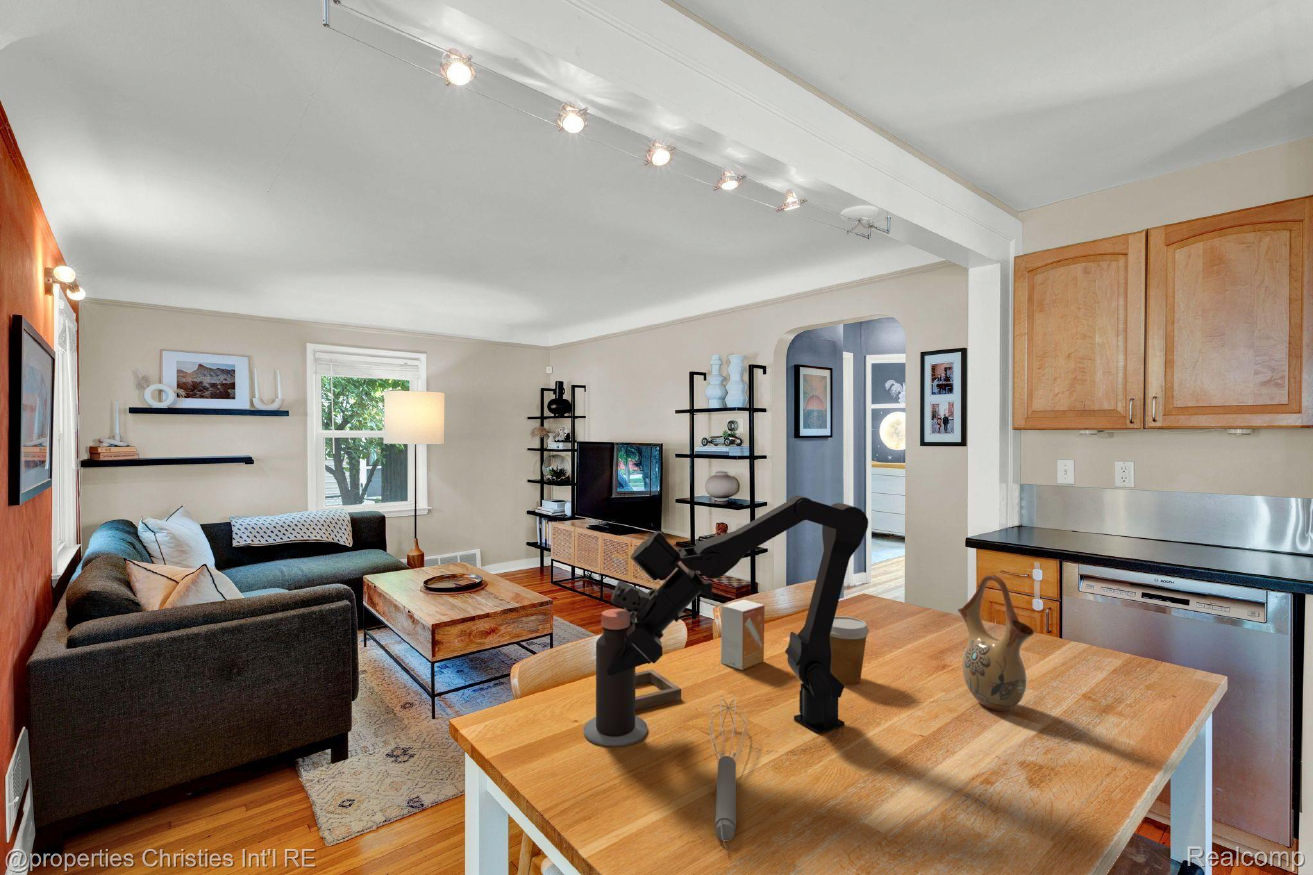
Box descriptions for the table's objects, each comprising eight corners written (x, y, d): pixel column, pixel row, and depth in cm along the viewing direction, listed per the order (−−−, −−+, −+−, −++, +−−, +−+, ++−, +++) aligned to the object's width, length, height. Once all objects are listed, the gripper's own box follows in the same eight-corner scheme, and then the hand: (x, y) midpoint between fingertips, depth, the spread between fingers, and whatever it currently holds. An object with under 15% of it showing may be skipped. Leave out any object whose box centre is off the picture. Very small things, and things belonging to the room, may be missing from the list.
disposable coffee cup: (862, 671, 135) (863, 616, 135) (873, 689, 126) (874, 630, 126) (817, 669, 136) (818, 614, 136) (825, 687, 127) (825, 628, 126)
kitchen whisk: (700, 852, 77) (700, 801, 77) (710, 726, 110) (711, 691, 110) (750, 857, 76) (750, 805, 76) (745, 728, 110) (745, 693, 110)
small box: (742, 671, 135) (742, 611, 135) (720, 663, 140) (720, 605, 139) (764, 661, 141) (765, 604, 140) (742, 654, 145) (743, 598, 145)
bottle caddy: (681, 699, 121) (681, 688, 121) (628, 712, 115) (628, 701, 115) (652, 678, 131) (652, 669, 131) (603, 689, 125) (603, 679, 125)
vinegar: (628, 739, 103) (629, 619, 103) (590, 734, 105) (590, 616, 105) (639, 721, 110) (639, 608, 110) (603, 716, 112) (603, 605, 111)
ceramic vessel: (1049, 721, 112) (1051, 583, 112) (1010, 728, 109) (1011, 586, 109) (978, 686, 127) (979, 564, 127) (941, 691, 125) (943, 567, 125)
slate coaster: (658, 736, 106) (658, 733, 106) (599, 753, 100) (599, 749, 100) (629, 711, 115) (629, 708, 115) (573, 724, 110) (573, 721, 110)
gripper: (636, 555, 117) (577, 615, 116) (642, 579, 99) (571, 650, 98) (677, 596, 118) (619, 656, 117) (691, 627, 99) (621, 698, 98)
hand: (607, 663), depth 108 cm, fingers open, 9 cm apart
